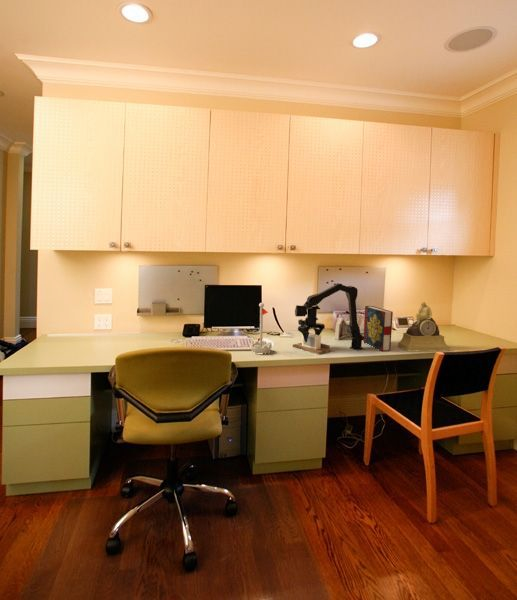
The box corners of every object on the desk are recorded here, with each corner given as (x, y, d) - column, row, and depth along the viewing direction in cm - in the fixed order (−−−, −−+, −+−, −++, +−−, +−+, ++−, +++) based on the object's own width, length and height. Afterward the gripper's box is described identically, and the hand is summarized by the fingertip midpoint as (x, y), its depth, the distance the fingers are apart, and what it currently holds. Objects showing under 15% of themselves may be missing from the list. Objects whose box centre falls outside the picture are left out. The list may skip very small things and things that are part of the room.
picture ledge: (303, 344, 256) (303, 338, 255) (329, 351, 239) (329, 345, 239) (292, 346, 249) (292, 340, 249) (318, 354, 233) (319, 347, 232)
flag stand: (245, 352, 236) (246, 302, 232) (259, 348, 246) (260, 300, 242) (261, 356, 227) (262, 305, 223) (275, 352, 237) (277, 302, 233)
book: (361, 342, 266) (362, 305, 263) (370, 341, 268) (372, 305, 264) (381, 351, 242) (383, 312, 238) (391, 351, 243) (393, 311, 240)
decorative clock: (407, 351, 244) (410, 303, 240) (397, 346, 257) (400, 300, 253) (449, 350, 247) (453, 303, 243) (438, 345, 260) (442, 300, 256)
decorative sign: (349, 337, 289) (351, 317, 289) (352, 337, 288) (354, 317, 287) (334, 339, 271) (336, 318, 270) (337, 340, 270) (339, 318, 269)
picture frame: (306, 344, 250) (306, 332, 249) (320, 348, 241) (321, 335, 240) (301, 345, 247) (301, 333, 246) (315, 349, 238) (316, 336, 237)
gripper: (312, 313, 254) (311, 336, 256) (291, 316, 242) (291, 340, 244) (325, 315, 245) (324, 339, 247) (305, 318, 233) (304, 344, 235)
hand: (311, 341), depth 244 cm, fingers open, 9 cm apart
